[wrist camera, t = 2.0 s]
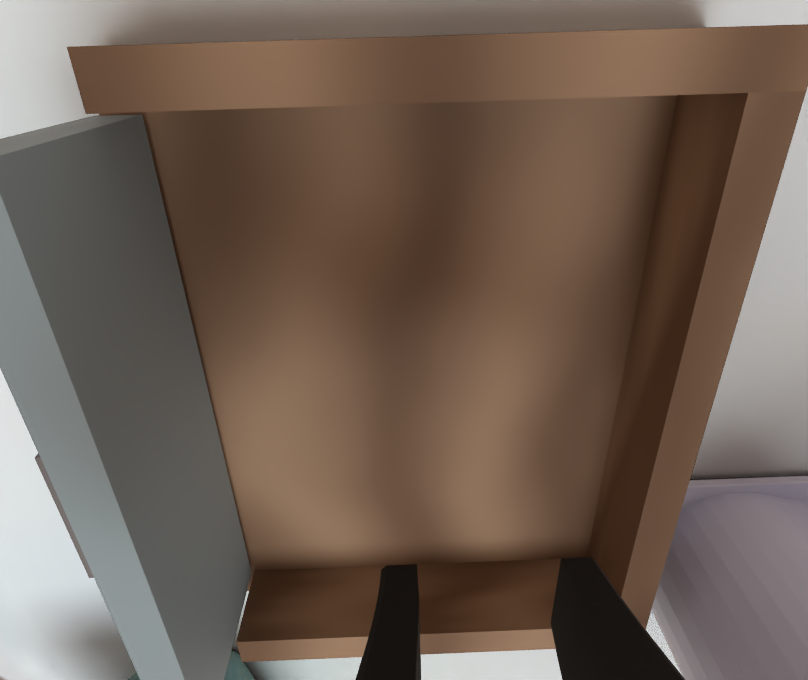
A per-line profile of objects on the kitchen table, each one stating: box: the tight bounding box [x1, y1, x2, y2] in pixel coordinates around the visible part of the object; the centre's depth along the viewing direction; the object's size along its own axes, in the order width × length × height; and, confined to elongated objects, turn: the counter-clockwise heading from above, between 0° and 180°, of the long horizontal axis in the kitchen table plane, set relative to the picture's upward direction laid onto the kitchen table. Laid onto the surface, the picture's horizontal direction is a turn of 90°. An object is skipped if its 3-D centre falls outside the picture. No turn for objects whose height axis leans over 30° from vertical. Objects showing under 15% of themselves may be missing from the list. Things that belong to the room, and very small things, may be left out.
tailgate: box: [0, 114, 251, 680], centre depth 15 cm, size 2×17×6 cm, turn 2°
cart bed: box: [67, 25, 808, 662], centre depth 17 cm, size 16×20×4 cm
